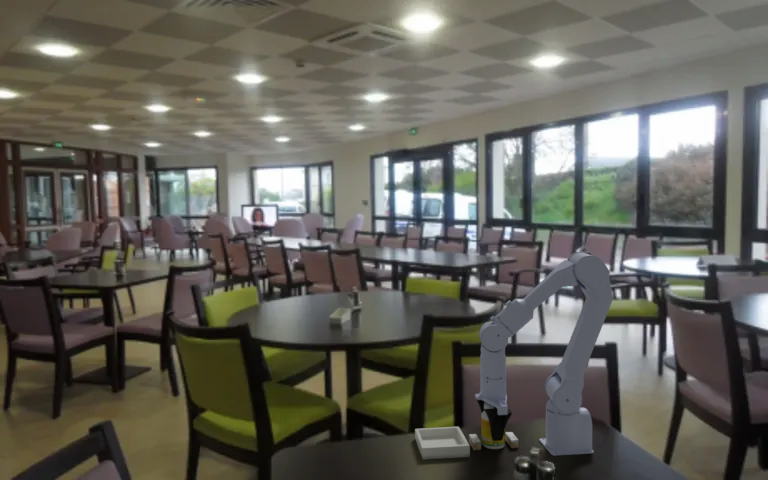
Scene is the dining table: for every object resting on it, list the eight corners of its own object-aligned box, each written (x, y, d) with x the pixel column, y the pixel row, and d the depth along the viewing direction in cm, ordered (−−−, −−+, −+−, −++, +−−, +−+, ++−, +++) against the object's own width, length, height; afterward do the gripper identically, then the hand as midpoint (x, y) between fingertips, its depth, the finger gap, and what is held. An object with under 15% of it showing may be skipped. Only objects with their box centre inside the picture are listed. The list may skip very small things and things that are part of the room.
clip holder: (512, 439, 126) (512, 431, 126) (518, 447, 122) (518, 439, 122) (469, 441, 125) (468, 434, 125) (473, 450, 121) (473, 442, 121)
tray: (458, 436, 128) (458, 426, 128) (469, 456, 118) (469, 445, 118) (415, 439, 127) (415, 428, 127) (422, 459, 117) (422, 448, 117)
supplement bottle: (493, 437, 127) (493, 397, 127) (510, 446, 123) (510, 404, 122) (476, 443, 124) (476, 402, 124) (493, 452, 120) (493, 409, 119)
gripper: (467, 367, 130) (468, 422, 130) (484, 386, 115) (484, 449, 116) (496, 365, 130) (496, 421, 131) (517, 385, 116) (517, 447, 117)
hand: (493, 434), depth 124 cm, fingers closed on supplement bottle, 5 cm apart
